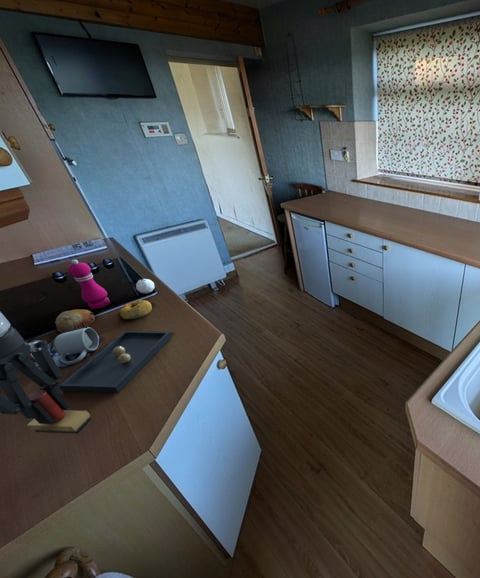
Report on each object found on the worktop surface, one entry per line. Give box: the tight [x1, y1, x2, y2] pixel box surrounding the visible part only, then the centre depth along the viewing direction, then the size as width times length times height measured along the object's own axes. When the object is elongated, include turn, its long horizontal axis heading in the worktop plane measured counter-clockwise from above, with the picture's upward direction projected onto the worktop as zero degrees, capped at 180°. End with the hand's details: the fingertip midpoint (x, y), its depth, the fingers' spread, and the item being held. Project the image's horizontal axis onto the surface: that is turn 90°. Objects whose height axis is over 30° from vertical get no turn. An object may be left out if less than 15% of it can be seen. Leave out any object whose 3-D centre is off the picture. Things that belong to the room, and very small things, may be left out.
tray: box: [59, 330, 173, 393], centre depth 91 cm, size 16×24×2 cm, turn 179°
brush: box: [26, 389, 92, 435], centre depth 65 cm, size 10×4×11 cm, turn 89°
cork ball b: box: [118, 353, 131, 363], centre depth 90 cm, size 3×3×3 cm
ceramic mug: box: [52, 326, 100, 365], centre depth 92 cm, size 11×8×8 cm
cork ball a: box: [113, 346, 125, 356], centre depth 92 cm, size 3×3×3 cm
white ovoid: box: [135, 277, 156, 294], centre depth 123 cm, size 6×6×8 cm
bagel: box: [119, 299, 153, 320], centre depth 112 cm, size 10×11×5 cm
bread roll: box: [54, 308, 96, 334], centre depth 105 cm, size 10×10×8 cm
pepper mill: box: [67, 259, 111, 310], centre depth 112 cm, size 7×7×20 cm
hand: (54, 415), depth 66 cm, fingers closed on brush, 3 cm apart
